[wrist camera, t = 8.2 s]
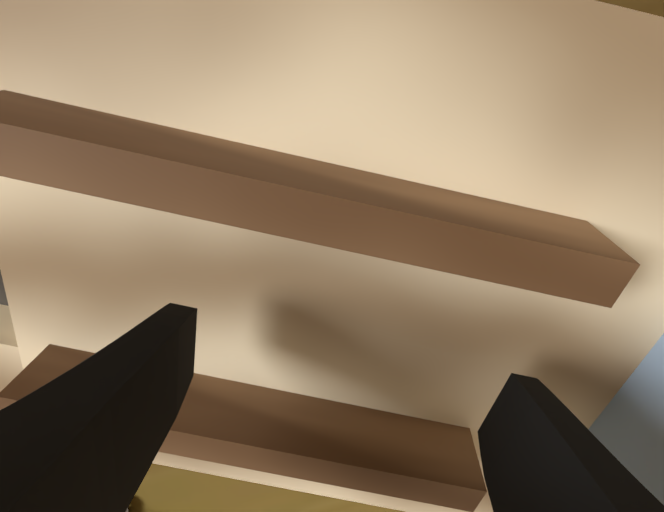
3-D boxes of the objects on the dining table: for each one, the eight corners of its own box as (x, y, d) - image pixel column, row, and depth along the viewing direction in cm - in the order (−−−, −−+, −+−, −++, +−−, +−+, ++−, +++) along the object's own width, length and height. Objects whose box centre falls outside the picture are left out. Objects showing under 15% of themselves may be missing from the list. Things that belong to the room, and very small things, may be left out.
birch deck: (644, 509, 17) (676, 563, 15) (-237, 336, 16) (-312, 374, 14) (1039, 128, 9) (1195, 149, 8) (-620, -280, 8) (-899, -371, 6)
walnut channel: (458, 448, 13) (473, 512, 11) (53, 367, 12) (3, 422, 11) (586, 220, 9) (640, 264, 7) (4, 89, 9) (-88, 103, 7)
